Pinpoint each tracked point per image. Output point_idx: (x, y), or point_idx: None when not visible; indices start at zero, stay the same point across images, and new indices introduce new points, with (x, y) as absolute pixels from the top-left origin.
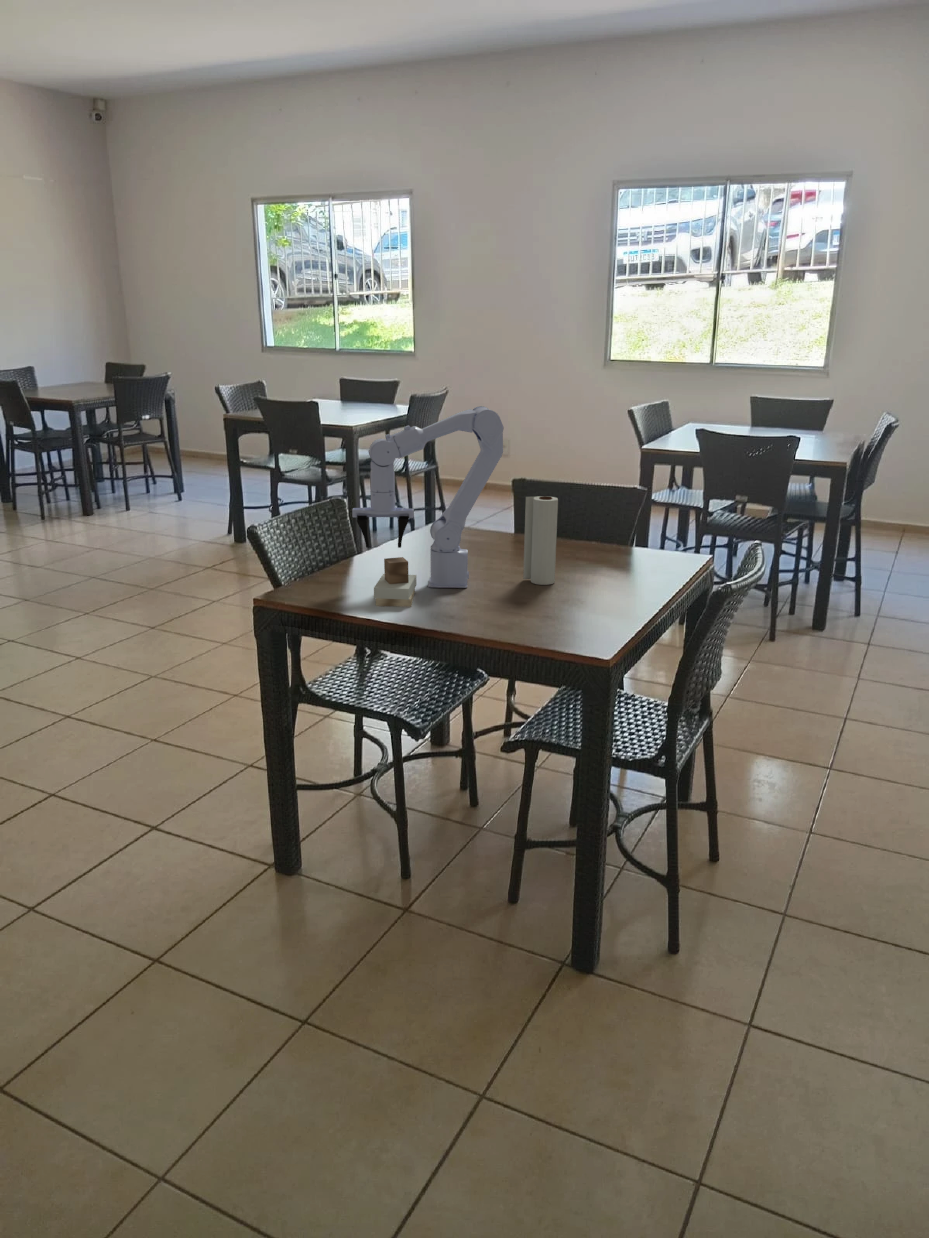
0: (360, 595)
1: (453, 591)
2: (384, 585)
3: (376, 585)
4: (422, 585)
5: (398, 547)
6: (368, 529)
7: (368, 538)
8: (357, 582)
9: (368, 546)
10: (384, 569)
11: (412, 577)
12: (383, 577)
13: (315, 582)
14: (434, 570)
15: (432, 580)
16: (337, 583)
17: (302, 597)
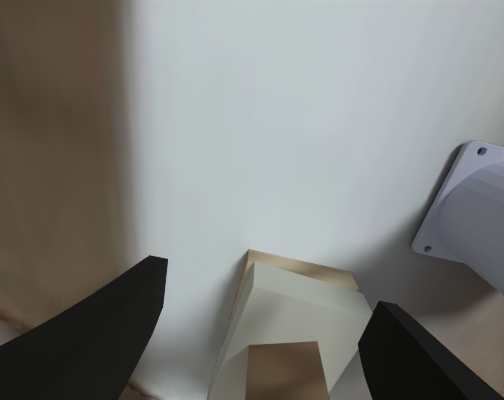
0: (181, 276)
1: (469, 290)
2: (239, 395)
3: (214, 391)
4: (401, 211)
5: (361, 347)
6: (83, 378)
7: (133, 348)
8: (170, 128)
9: (158, 312)
10: (246, 381)
11: (351, 343)
12: (247, 327)
13: (6, 98)
14: (479, 270)
15: (445, 234)
16: (95, 129)
17: (14, 264)
